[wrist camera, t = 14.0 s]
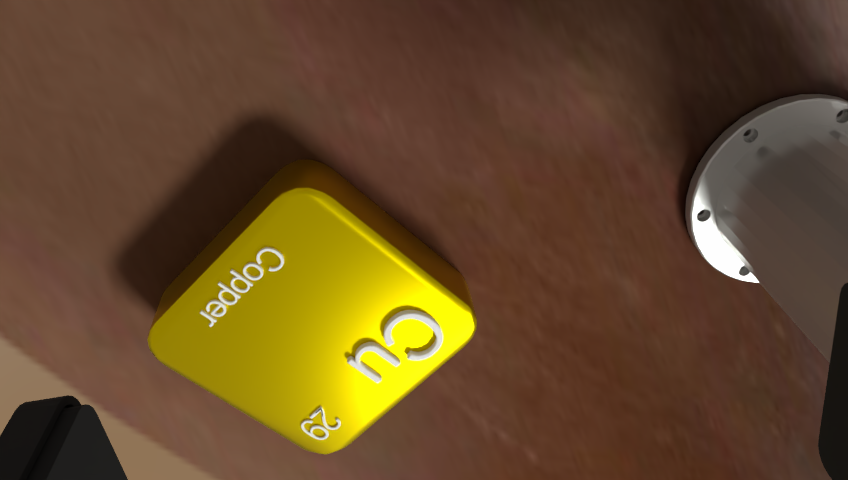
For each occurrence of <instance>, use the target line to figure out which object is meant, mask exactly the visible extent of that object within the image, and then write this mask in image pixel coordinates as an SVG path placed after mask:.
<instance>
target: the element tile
mask: <svg viewBox="0 0 848 480" xmlns="http://www.w3.org/2000/svg"><path fill="white" fill-rule="evenodd" d="M476 325H477V318H476V314H475V310H474V307H473V303H472V299H471V296H470V292H469V288H468V286H467V283H466V281H465V279H464V277H463V276H462V275H461V273H460V272H458V271H457V270H456V269H455V268H454V267H452V266H451V265H450V264H449V263H447V262H446V261H445V260H444V259H443V258H441V257H440V256H439V255H438V254H436V253H435V252H434V251H433V250H431V249H430V248H429V247H428V246H427V245H425V244H424V243H423V242H422V241H420V240H419V239H418V238H417V237H416V236H414V235H413V234H412V233H411V232H409V231H408V230H407V229H406V228H404V227H403V226H402V225H401V224H400V223H398V222H397V221H396V220H395V219H393V218H392V217H391V216H390V215H389V214H387V213H386V212H385V211H384V210H382V209H381V208H380V207H379V206H378V205H376V204H375V203H374V202H373V201H371V200H370V199H369V198H368V197H366V196H365V195H364V194H363V193H362V192H360V191H359V190H358V189H357V188H355V187H354V186H353V185H352V184H351V183H349V182H348V181H347V180H346V179H344V178H343V177H342V176H341V175H339V174H338V173H337V172H336V171H335V170H333V169H332V168H330V167H329V166H327V165H325V164H323V163H320V162H317V161H314V160H311V159H310V160H297V161H295V162H292V163H290V164H288V165H286V166H285V167H283V168H282V169H281V170H279V171H278V172H277V173H276V174H275V175H274V176H273V177H272V178H271V179H270V180H269V181H268V182H267V184H266V185H265V186H264V187H263V188H262V189H261V190H260V191H259V192H258V193H257V194H256V195H255V196H254V197H253V198H252V199H251V200H250V201H249V202H248V203H247V204H246V206H245V207H244V208H243V209H242V210H241V211H240V212H239V213H238V214H237V215H236V216H235V217H234V218H233V219H232V220H231V221H230V222H229V223H228V224H227V225H226V226H225V227H224V229H223V230H222V231H221V232H220V233H219V234H218V235H217V236H216V237H215V238H214V239H213V240H212V241H211V242H210V243H209V244H208V245H207V246H206V247H205V248H204V249H203V251H202V252H201V253H200V254H199V255H198V256H197V257H196V258H195V259H194V260H193V261H192V262H191V263H190V264H189V265H188V266H187V267H186V268H185V269H184V270H183V271H182V273H181V274H180V275H179V276H178V277H177V278H176V279H175V280H174V281H173V282H172V283H171V284H170V285H169V286H168V287H167V288H166V290H165V291H164V293H163V295H162V297H161V300H160V303H159V305H158V308H157V311H156V314H155V317H154V320H153V322H152V325H151V328H150V331H149V335H148V344H149V348H150V351H151V352H152V353H153V355H154V356H155V357H156V358H157V359H158V360H159V361H160V362H161V363H163V364H164V365H165V366H167V367H169V368H170V369H172V370H174V371H175V372H177V373H179V374H180V375H182V376H184V377H185V378H187V379H189V380H190V381H192V382H194V383H195V384H197V385H199V386H200V387H202V388H203V389H205V390H207V391H208V392H210V393H212V394H213V395H215V396H217V397H218V398H220V399H222V400H223V401H225V402H227V403H228V404H230V405H232V406H233V407H235V408H237V409H238V410H240V411H242V412H243V413H245V414H247V415H248V416H250V417H252V418H253V419H255V420H256V421H258V422H260V423H261V424H263V425H265V426H266V427H268V428H270V429H271V430H273V431H275V432H276V433H278V434H280V435H281V436H283V437H285V438H286V439H288V440H290V441H291V442H293V443H295V444H296V445H298V446H300V447H301V448H303V449H305V450H307V451H310V452H315V453H320V454H329V453H333V452H335V451H338V450H341V449H343V448H344V447H346V446H348V445H349V444H350V443H351V442H353V441H354V440H355V439H356V438H357V437H359V436H360V435H361V434H362V433H363V432H364V431H366V430H367V429H368V428H369V427H370V426H371V425H373V424H374V423H375V422H376V421H377V420H379V419H380V418H381V417H382V416H383V415H384V414H386V413H387V412H388V411H389V410H390V409H391V408H393V407H394V406H395V405H396V404H397V403H398V402H400V401H401V400H402V399H403V398H404V397H406V396H407V395H408V394H409V393H410V392H411V391H413V390H414V389H415V388H416V387H417V386H418V385H420V384H421V383H422V382H423V381H424V380H426V379H427V378H428V377H429V376H430V375H431V374H433V373H434V372H435V371H436V370H437V369H438V368H440V367H441V366H442V365H443V364H444V363H446V362H447V361H448V360H449V359H450V358H451V357H453V356H454V355H455V354H456V353H457V352H458V351H460V350H461V349H462V348H463V347H464V346H465V345H466V344H467V343H468V342H469V341H470V340H471V339H472V337H473V335H474V333H475V331H476Z"/></svg>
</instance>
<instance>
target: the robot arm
mask: <svg viewBox="0 0 848 480" xmlns="http://www.w3.org/2000/svg"><path fill="white" fill-rule="evenodd" d="M685 217H686V223H687V229H688V232H689V235H690V237H691V239H692V242H693V244H694V246H695V247H696V248H697V250H698V251H699V252H700V254H701V255H702V256H703V258H704V259H705V260H706V261H707V262H708V263H709V264H710V265H711V266H712V267H713V268H715V269H716V270H718V271H720V272H721V273H723V274H725V275H726V276H729V277H732V278H734V279H737V280H741V281H747V282H755V283H760V284H761V285H762V286H763V287H764V288H765V290H766V291H767V292H768V293H769V294H770V295H771V296H772V298H773V299H774V300H775V301H776V302H777V303H778V304H779V306H780V307H781V308H782V309H783V310H784V311H785V312H786V313H787V315H788V316H789V317H790V318H791V319H792V320H793V321H794V323H795V324H796V325H797V326H798V327H799V328H800V329H801V331H802V332H803V333H804V334H805V335H806V336H807V337H808V339H809V340H810V341H811V342H812V343H813V344H814V345H815V347H816V348H817V349H818V350H819V351H820V352H821V353H822V355H823V356H824V357H825V358H826V359H827V360H828V361H829V363H830V365H829V372H828V379H827V386H826V393H825V400H824V407H823V413H822V420H821V427H820V434H819V443H818V447H819V454H820V457H821V461H822V463H823V465H824V468H825V469H826V471H827V473H828V474H829V476H830V477H831V479H832V480H848V101H846V100H844V99H842V98H839V97H835V96H830V95H824V94H800V95H795V96H790V97H785V98H781V99H778V100H776V101H773V102H770V103H768V104H765V105H763V106H760V107H759V108H757V109H755V110H753V111H752V112H750V113H748V114H746V115H745V116H743V117H741V118H740V119H739V120H738V121H736V122H735V123H734V124H733V125H731V126H730V127H729V128H728V129H726V130H725V131H724V132H723V133H722V134H721V135H720V136H719V137H718V139H717V140H716V141H715V142H714V143H713V144H712V145H711V146H710V147H709V149H708V150H707V152H706V153H705V155H704V156H703V158H702V159H701V161H700V162H699V164H698V166H697V168H696V170H695V172H694V175H693V177H692V179H691V181H690V185H689V189H688V193H687V197H686V210H685ZM0 480H128V479H127V477H126V475H125V473H124V471H123V468H122V466H121V464H120V462H119V460H118V458H117V456H116V454H115V452H114V449H113V447H112V445H111V443H110V441H109V439H108V437H107V435H106V432H105V430H104V428H103V426H102V424H101V422H100V420H99V417H98V415H97V413H96V412H95V410H94V408H93V407H91V406H90V405H81V404H80V402H79V401H78V400H77V399H76V398H74V397H73V396H63V397H56V398H50V399H44V400H38V401H31V402H25V403H23V404H21V405H20V406H19V407H18V408H17V409H16V410H15V412H14V414H13V415H12V417H11V419H10V420H9V422H8V424H7V425H6V427H5V429H4V431H3V432H2V434H1V436H0Z"/></svg>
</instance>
